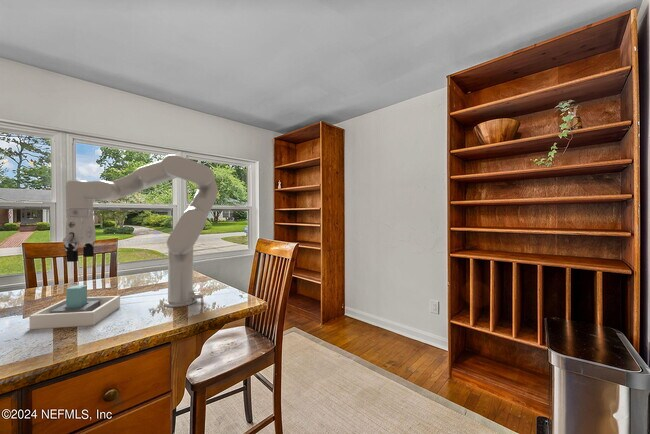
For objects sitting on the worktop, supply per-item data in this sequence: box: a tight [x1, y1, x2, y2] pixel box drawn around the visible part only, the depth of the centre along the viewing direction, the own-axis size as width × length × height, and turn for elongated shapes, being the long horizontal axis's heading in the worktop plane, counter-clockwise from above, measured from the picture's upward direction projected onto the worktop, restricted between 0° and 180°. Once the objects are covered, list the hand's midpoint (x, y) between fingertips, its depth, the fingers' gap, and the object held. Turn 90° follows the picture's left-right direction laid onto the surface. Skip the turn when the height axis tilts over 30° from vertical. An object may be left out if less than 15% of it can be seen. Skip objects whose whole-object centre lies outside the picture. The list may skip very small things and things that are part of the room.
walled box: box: [28, 295, 121, 330], centre depth 100 cm, size 18×18×4 cm
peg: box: [65, 284, 88, 308], centre depth 101 cm, size 4×4×10 cm
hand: (80, 259), depth 102 cm, fingers open, 9 cm apart
